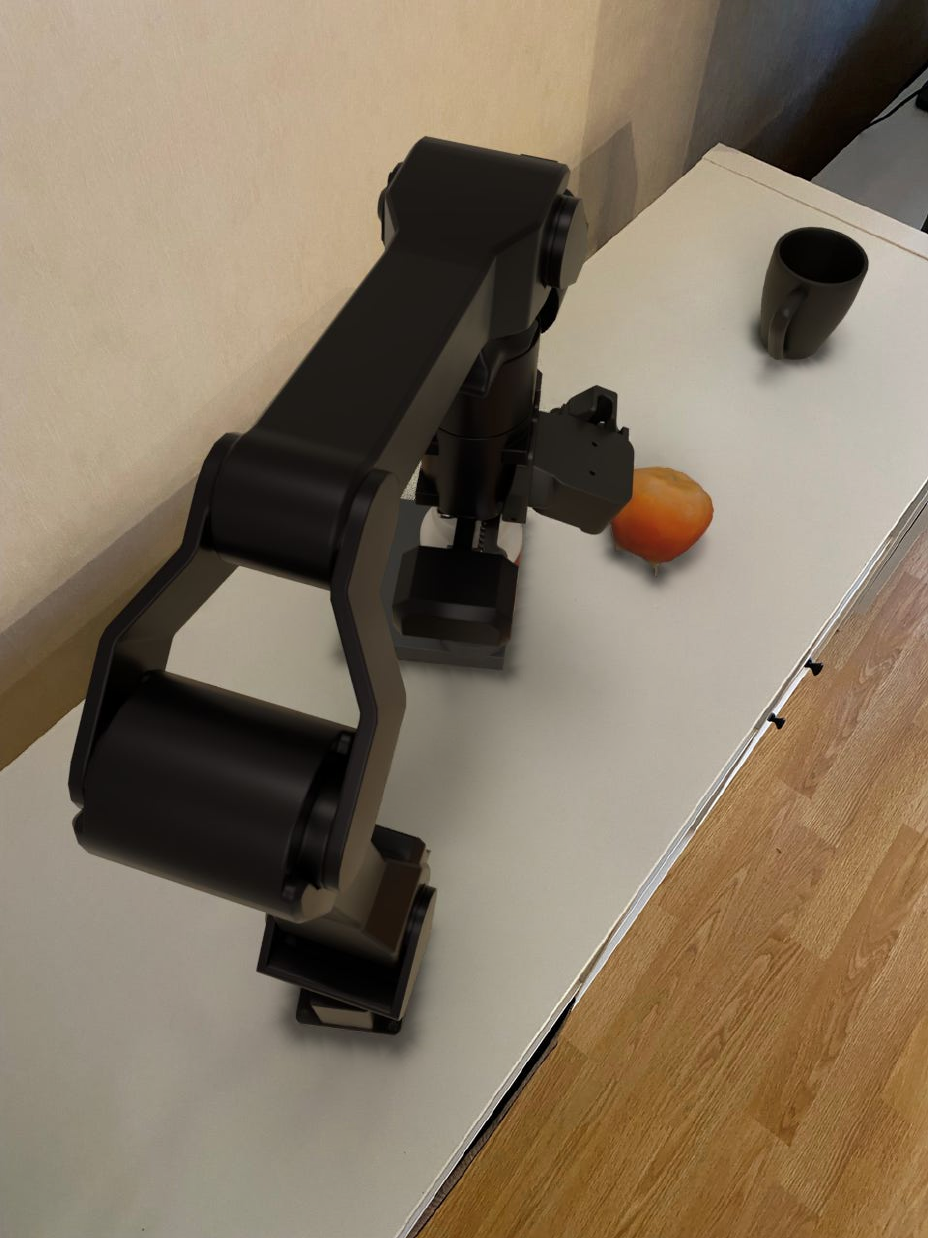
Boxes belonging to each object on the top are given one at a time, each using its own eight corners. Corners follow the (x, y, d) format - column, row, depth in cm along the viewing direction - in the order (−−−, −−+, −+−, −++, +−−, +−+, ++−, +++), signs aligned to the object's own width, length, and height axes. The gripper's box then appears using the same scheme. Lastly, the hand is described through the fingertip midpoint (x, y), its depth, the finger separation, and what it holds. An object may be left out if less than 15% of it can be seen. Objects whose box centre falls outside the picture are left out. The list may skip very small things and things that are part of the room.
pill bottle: (533, 619, 64) (549, 514, 54) (454, 662, 62) (457, 560, 53) (482, 554, 66) (488, 443, 57) (405, 593, 65) (399, 486, 55)
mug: (712, 368, 90) (738, 284, 82) (769, 299, 96) (799, 214, 88) (792, 406, 88) (827, 323, 80) (846, 333, 93) (884, 249, 85)
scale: (506, 675, 72) (509, 651, 69) (344, 657, 73) (339, 633, 70) (522, 525, 80) (525, 497, 77) (375, 509, 81) (372, 482, 78)
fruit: (579, 559, 76) (612, 466, 73) (605, 531, 83) (637, 445, 79) (674, 600, 74) (714, 507, 71) (694, 567, 81) (730, 481, 77)
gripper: (631, 567, 42) (588, 722, 56) (645, 287, 52) (605, 475, 66) (382, 539, 43) (397, 698, 56) (441, 267, 53) (442, 457, 66)
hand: (470, 574), depth 61 cm, fingers closed on pill bottle, 6 cm apart
